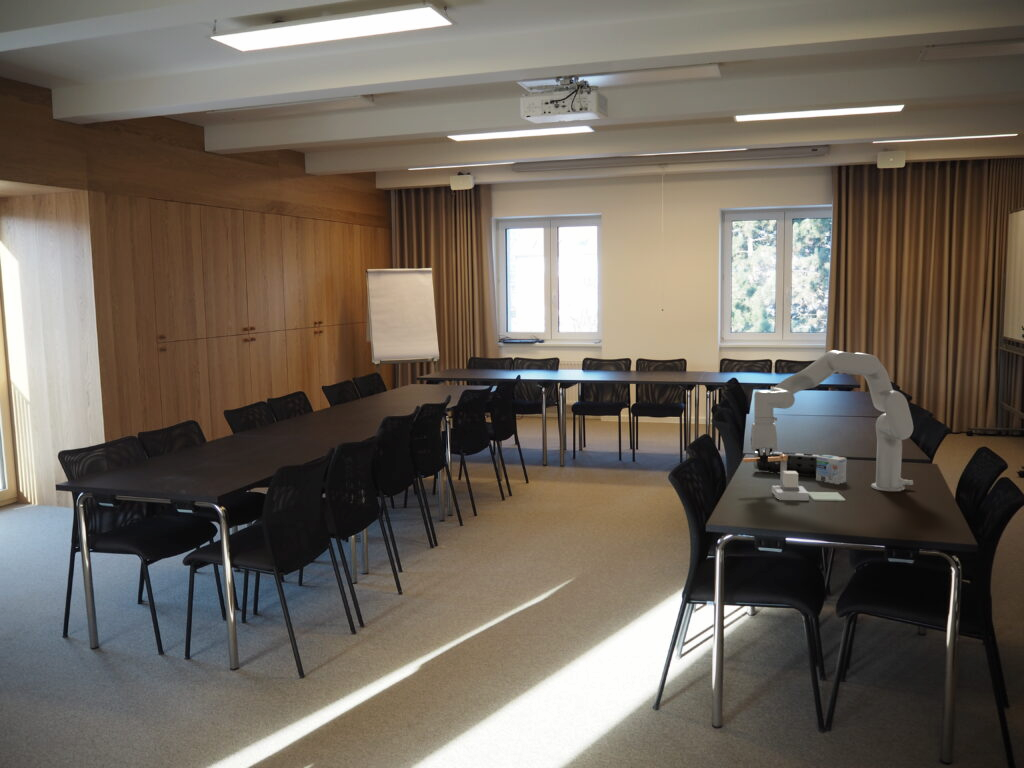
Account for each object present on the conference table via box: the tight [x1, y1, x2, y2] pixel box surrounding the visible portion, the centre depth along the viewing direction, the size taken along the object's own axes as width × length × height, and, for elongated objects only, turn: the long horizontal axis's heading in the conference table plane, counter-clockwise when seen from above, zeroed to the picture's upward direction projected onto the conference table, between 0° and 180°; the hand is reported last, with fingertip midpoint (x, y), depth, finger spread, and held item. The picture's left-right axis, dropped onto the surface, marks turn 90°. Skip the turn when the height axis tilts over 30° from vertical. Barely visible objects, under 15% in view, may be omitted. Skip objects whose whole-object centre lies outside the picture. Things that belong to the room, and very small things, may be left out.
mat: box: [807, 491, 846, 502], centre depth 341 cm, size 12×12×1 cm
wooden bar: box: [742, 455, 788, 464], centre depth 354 cm, size 20×3×2 cm, turn 101°
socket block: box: [771, 461, 810, 501], centre depth 347 cm, size 12×22×12 cm, turn 173°
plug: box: [781, 471, 799, 491], centre depth 342 cm, size 6×6×10 cm
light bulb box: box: [815, 454, 847, 485], centre depth 368 cm, size 11×7×11 cm, turn 40°
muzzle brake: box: [753, 449, 821, 477], centre depth 383 cm, size 10×28×10 cm, turn 63°
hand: (763, 464), depth 351 cm, fingers closed
